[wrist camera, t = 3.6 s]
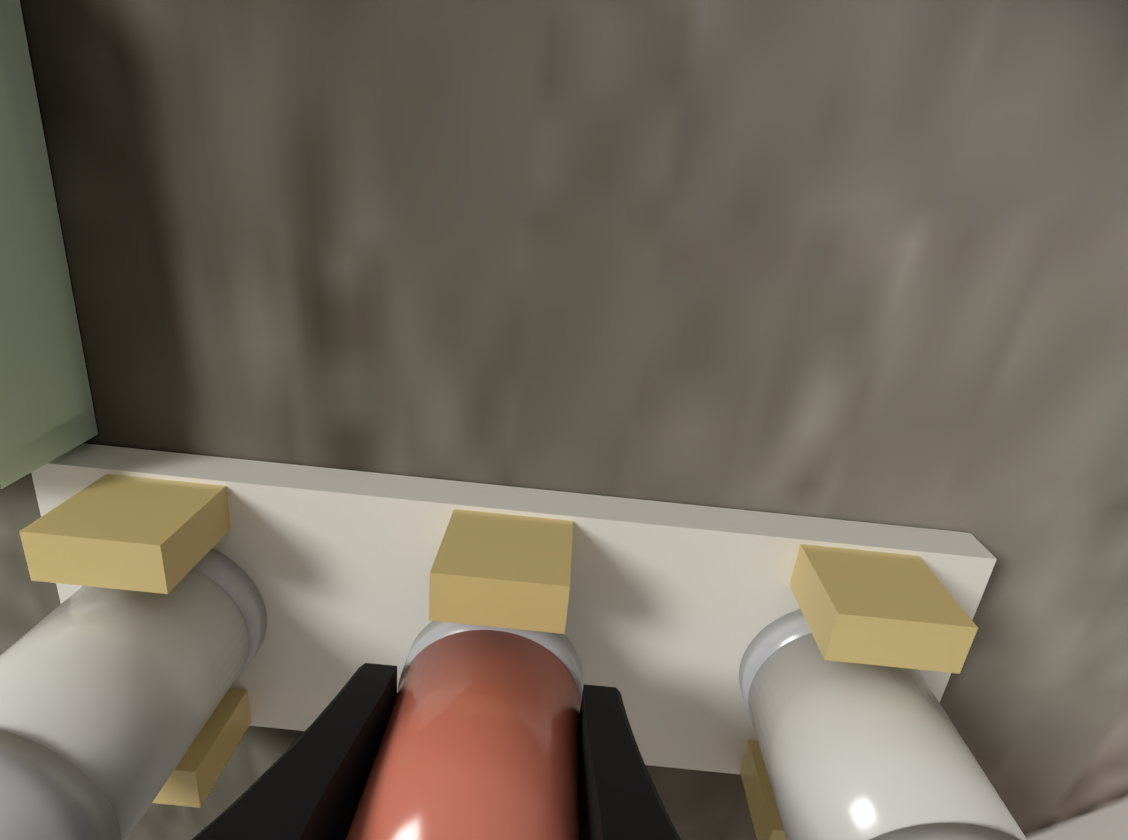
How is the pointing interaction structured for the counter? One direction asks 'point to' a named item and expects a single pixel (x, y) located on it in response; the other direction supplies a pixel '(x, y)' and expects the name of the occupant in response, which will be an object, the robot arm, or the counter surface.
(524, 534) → the fuse block
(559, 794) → the red fuse
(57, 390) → the tray
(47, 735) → the grey fuse
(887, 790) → the grey fuse
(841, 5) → the counter surface
